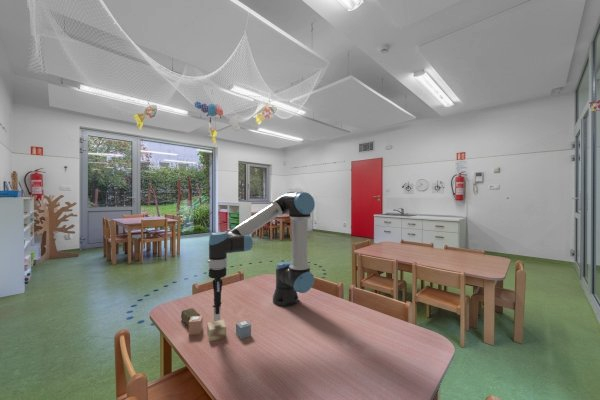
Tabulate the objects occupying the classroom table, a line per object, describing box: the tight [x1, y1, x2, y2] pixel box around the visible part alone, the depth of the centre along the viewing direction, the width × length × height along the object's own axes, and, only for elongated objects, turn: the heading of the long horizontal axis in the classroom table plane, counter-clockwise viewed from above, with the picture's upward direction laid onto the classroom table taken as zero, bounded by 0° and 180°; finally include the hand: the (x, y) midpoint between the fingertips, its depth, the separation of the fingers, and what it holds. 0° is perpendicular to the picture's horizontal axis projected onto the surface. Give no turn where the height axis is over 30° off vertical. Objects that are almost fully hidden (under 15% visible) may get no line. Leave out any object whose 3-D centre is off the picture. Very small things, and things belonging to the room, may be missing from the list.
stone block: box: [180, 307, 201, 328], centre depth 124 cm, size 6×12×5 cm, turn 44°
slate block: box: [235, 319, 252, 340], centre depth 114 cm, size 5×5×5 cm
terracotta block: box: [188, 315, 204, 336], centre depth 116 cm, size 5×5×6 cm
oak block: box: [206, 319, 227, 342], centre depth 113 cm, size 7×7×5 cm
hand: (216, 319), depth 113 cm, fingers closed
